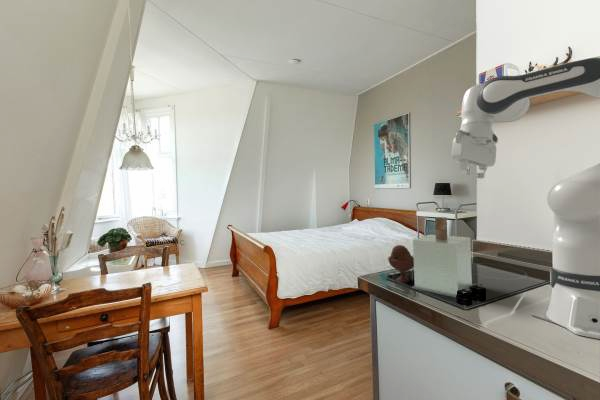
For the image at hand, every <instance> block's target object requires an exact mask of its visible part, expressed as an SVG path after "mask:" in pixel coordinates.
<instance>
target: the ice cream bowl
mask: <svg viewBox="0 0 600 400" xmlns="http://www.w3.org/2000/svg"><path fill="white" fill-rule="evenodd" d="M387 261H388V263H389V264H390V266H391V267H392V268H393V269H395V270H396V271H398V272H399V274H400V276H399V277H397V278H396V281H397V282H402V283H407V282H410V279H409V278H408V277H406V272H408V271H410V270H411V269H414V255H413V256H412V255H411V252H410V251H409V250H408V248H407V247H406V246H404V245H402V244H401V245H398V244H397V245H395V246H394V247H393V248H392V251H391V253H390V256H388V258H387Z"/></svg>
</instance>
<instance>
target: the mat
mask: <svg viewBox="0 0 600 400" xmlns="http://www.w3.org/2000/svg"><path fill="white" fill-rule="evenodd" d="M472 285H474V284H473V283H472ZM472 285H471V286H472ZM411 288H412V289H416V290H420V291H426V292H429V293H435V294H438V295H443V296H446V297H447V296H448V297H452V298H456V296H452V295H448V294H443V293H439V292H434V291H430V290H425V289H421V288H416V287H415V284H414V285H413V286H411Z"/></svg>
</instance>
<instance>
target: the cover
mask: <svg viewBox="0 0 600 400" xmlns="http://www.w3.org/2000/svg"><path fill="white" fill-rule="evenodd" d="M447 219H448V218H447V217H446V216H445V217H444V216H438V217H434V220H435V221H434V228H435V234H426V235H424V236H421V237H418V238H415V239H413V240H412V248H413V249H412V250H413V251H412V252H413V253H412V255H413V257H414V267H413V276H414V280H413V281H414V285H415V287H416V288H421V289H425V290H430V291H434V292H439V293H443V294H448V295H452V296H456V295H457V291H458V290H462V289H468V288H469V287H470V286H471V285H472V284H473V283H472V282H473V278H472V252H471V251H472V249H471V248H472V247H471V246H472V245H471V237H469V236H467V237H466V236H457V235H456V236H455V235H454V236H453V235H448V224H447V223H448V222H447ZM416 288H415V289H416ZM425 290H424V291H425ZM434 292H433V293H434Z"/></svg>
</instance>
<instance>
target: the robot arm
mask: <svg viewBox="0 0 600 400" xmlns="http://www.w3.org/2000/svg"><path fill="white" fill-rule="evenodd" d="M564 91H565V92H567V91H568V92H569V91H571V92H578V93H583V94H586V95H589V96H592V97H595V98H599V99H600V55H598V56H595V57H589V58H585V59H584V58H583V59H580V60H575V61H571V62H566V63H562V64H558V65H555V66H551V67H546V68H544V69H539V70H535V71H533V72H529V73H525V74H519V75H500V76H495V77H493V78H491V79H489V80H487V81H486V82H485V83H479V84H478V83H477V84H476V85H472V86H471V87H470V88H469V89H467V90H466V91H465V93H464V94H463V97H462V103H461V112H460V113H461V114H460V115H461V116H460V117H461V125H460V129H459V130H458V131H457V132H456V133H455V136H454V138H453V140H452V146H451V158H452V159H453V160H455V161H458V165H459V167H460V174H461V175H462V176H468V175H470V169H469V167H468V163H469V164H471V165H475V166H478V172H476V178H477V179H485V176H486V175H485V174H486V172H487V170H488V167H489V168H490V167H494V166H495V164H496V158H497V145H496V144H498V142H499V138H498V136H497V135H496V134H495V133H494V131H493V128H492V124H493V123H512V122H516V121H517V120H520V119H522V118H523V117H524V116H525V115H526V114H527V113H528V111H529V110H530V108H531V100H530V99H531V98H534V97H540V96H543V95H549V94H553V93H556V92H557V93H558V92H564ZM546 199H547V200H546V201H547V204H548V206H549V208H550V210H551V211H552V213H554V217H553V218H554V219H553V228H552V237H551V253H552V255H551V256H552V257H551V258H552V266H551V267H550V271H549V278H550V279H549V280H550V285H551V296H550V301H549V305H548V308H547V310H546V313H545V315H546V316H545V317H547V319H548V320H550V321H551V322H553V323H555V324H557V325H559V326H561V327H563V328H566V329H567V330H568V331H570V332H572V334H575V335H579V336H583V337H588V338H593V339H596V340H597V339H598V340H600V163H598V164H595V165H593V166H591V167H588V168H587V169H584V170H581V171H580V172H577V173H576V174H573V175H571V176H570V175H569V176H568V177H566V178H564V179H562V180H559V181H558V182H557V183H555V184H554V185H553V186H552V187H551V188H550V190H549V191H548V194H547V198H546Z"/></svg>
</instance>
